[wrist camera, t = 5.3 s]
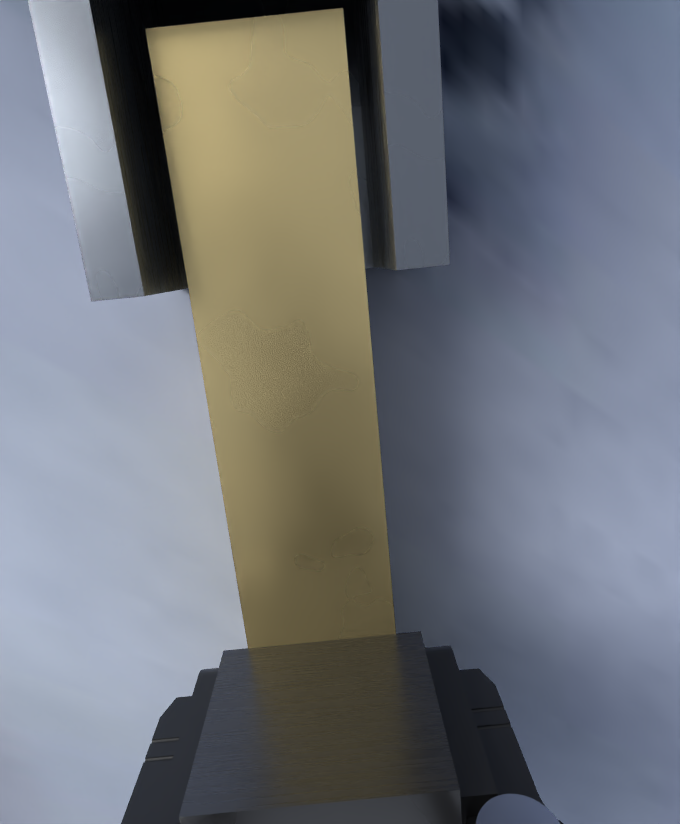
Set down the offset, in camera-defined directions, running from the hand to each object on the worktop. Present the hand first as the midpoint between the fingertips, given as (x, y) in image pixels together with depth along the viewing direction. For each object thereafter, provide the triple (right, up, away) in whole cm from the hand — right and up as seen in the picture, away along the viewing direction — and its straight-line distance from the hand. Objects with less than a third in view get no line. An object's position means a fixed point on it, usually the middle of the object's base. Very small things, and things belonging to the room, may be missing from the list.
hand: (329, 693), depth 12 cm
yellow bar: (0, +4, +2) cm, 5 cm away
